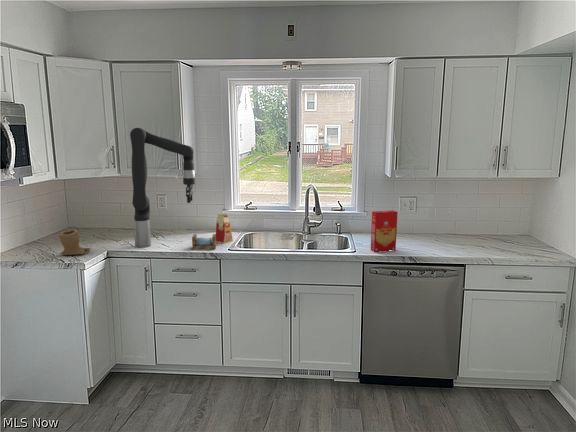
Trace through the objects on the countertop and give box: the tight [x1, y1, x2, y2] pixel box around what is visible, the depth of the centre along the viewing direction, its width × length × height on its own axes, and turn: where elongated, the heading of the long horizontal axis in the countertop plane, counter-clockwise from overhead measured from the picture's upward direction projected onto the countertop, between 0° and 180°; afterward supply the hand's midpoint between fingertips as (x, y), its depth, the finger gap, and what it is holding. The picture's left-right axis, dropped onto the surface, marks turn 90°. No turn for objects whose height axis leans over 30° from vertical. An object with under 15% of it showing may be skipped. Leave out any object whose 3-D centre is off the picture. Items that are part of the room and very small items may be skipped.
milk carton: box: [215, 212, 234, 245], centre depth 297 cm, size 9×9×20 cm
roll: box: [197, 237, 212, 246], centre depth 281 cm, size 10×6×6 cm, turn 94°
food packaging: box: [370, 210, 398, 253], centre depth 276 cm, size 15×5×25 cm, turn 106°
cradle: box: [191, 233, 217, 251], centre depth 281 cm, size 14×9×8 cm, turn 94°
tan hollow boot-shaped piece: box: [59, 229, 91, 256], centre depth 263 cm, size 15×12×15 cm
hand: (189, 201), depth 288 cm, fingers open, 8 cm apart
